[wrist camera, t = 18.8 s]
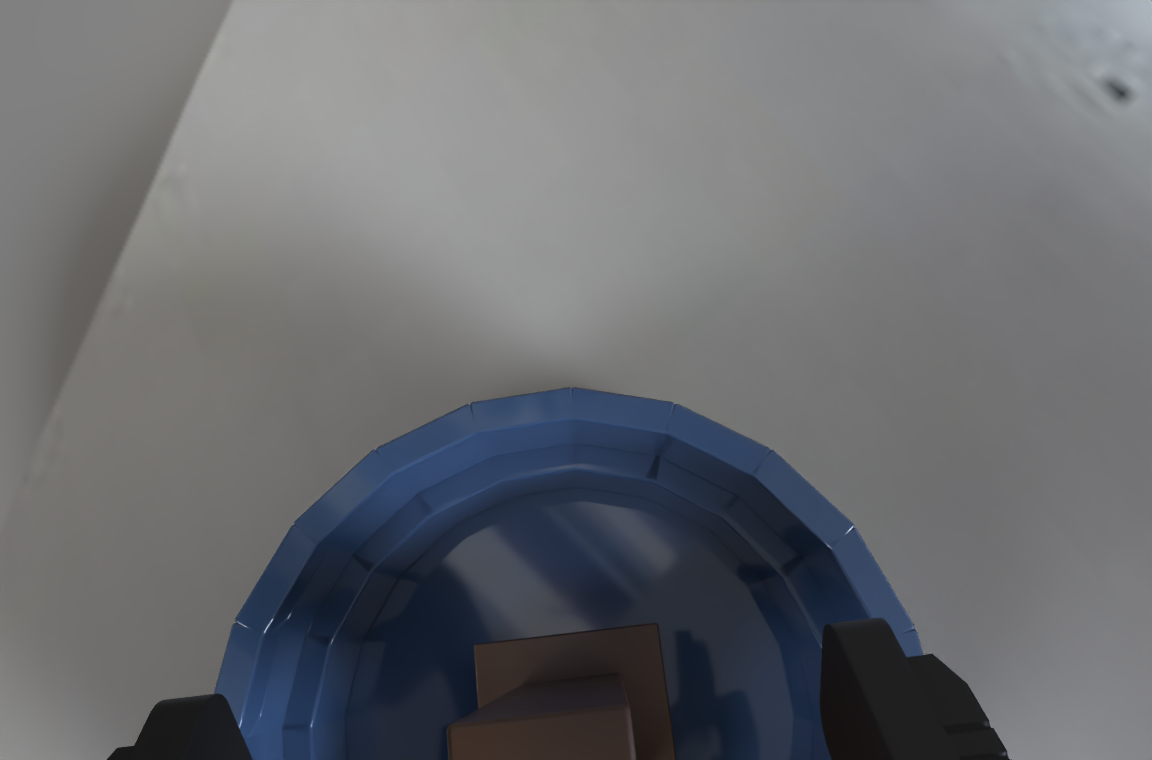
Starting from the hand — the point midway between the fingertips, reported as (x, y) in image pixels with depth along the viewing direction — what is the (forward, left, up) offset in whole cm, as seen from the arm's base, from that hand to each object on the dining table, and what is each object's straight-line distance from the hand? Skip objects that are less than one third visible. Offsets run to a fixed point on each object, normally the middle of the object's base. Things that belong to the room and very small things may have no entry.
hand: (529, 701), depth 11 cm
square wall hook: (0, -1, -12) cm, 13 cm away
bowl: (0, -1, -13) cm, 13 cm away
